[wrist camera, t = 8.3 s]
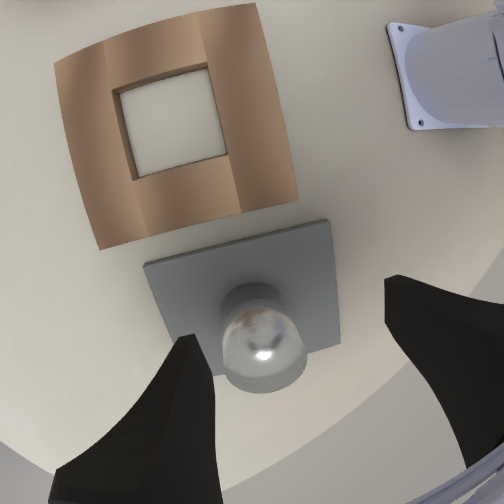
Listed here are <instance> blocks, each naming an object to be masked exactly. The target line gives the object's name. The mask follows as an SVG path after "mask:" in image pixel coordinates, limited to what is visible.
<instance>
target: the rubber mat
mask: <svg viewBox="0 0 504 504" xmlns="http://www.w3.org/2000/svg"><path fill="white" fill-rule="evenodd" d="M143 269H144V272H145V274H146V277H147V280H148V282H149V285H150V288H151V290H152V293H153V295H154V298H155V300H156V303H157V305H158V308H159V310H160V313H161V315H162V317H163V320H164V322H165V325H166V327H167V329H168V332H169V334H170V336H171V338H172V341H173V343H174V344H175V342H176V340H177V339H178V337H181V336H185V335H189V334H194V333H195V335H196V338H197V340H198V342H199V345H200V347H201V349H202V351H203V354H204V356H205V358H206V360H207V363H208V365H209V367H210V369H211V371H212V375H213V376H217V375H222V374H225V371H224V360H223V346H222V331H221V315H220V309H221V305H222V302H223V300H224V298H225V297H226V295H227V294H228V293H229V292H230V291H231V290H232V289H234V288H235V287H237V286H239V285H242V284H244V283H249V282H262V283H266V284H269V285H271V286H273V287H274V288H276V289H277V290H278V291H279V292H280V293H281V294H282V296H283V298H284V300H285V303H286V305H287V307H288V310H289V312H290V314H291V317H292V319H293V321H294V324H295V326H296V328H297V331H298V333H299V335H300V338H301V340H302V342H303V345H304V347H305V349H306V353H307V354H308V353H311V352H315V351H318V350H321V349H325V348H328V347H331V346H334V345H338V344H341V343H340V324H339V309H338V295H337V283H336V272H335V262H334V252H333V243H332V234H331V226H330V221H329V220H327V219H325V220H320V221H316V222H312V223H307V224H303V225H299V226H294V227H290V228H286V229H282V230H277V231H273V232H269V233H265V234H261V235H256V236H252V237H248V238H244V239H240V240H236V241H232V242H228V243H223V244H219V245H215V246H211V247H207V248H203V249H199V250H195V251H191V252H187V253H183V254H179V255H175V256H171V257H167V258H163V259H159V260H155V261H151V262H147V263H144V265H143Z"/></svg>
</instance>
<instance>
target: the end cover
mask: <svg viewBox="0 0 504 504" xmlns="http://www.w3.org/2000/svg"><path fill="white" fill-rule="evenodd" d="M220 315H221V331H222V346H223V360H224V371H225V375H226V377H227V379H228V380H229V381H230V383H231V384H233V385H234V386H235V387H237V388H238V389H241V390H243V391H246V392H250V393H270V392H274V391H278V390H280V389H283V388H285V387H287V386H289V385H290V384H292V383H293V382H294V381H295V380H297V379H298V378H299V377H300V375H301V374H302V373H303V371H304V369H305V367H306V364H307V353H306V349H305V347H304V345H303V342H302V340H301V338H300V335H299V333H298V331H297V328H296V326H295V324H294V321H293V319H292V317H291V314H290V312H289V310H288V307H287V305H286V303H285V300H284V298H283V296H282V294H281V293H280V292H279V291H278V290H277V289H276V288H274V287H273V286H271V285H269V284H266V283H262V282H249V283H244V284H242V285H239V286H237V287H235V288H234V289H232V290H231V291H230V292H229V293H228V294H227V295H226V297H225V298H224V300H223V302H222V305H221V309H220Z"/></svg>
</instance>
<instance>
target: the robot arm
mask: <svg viewBox="0 0 504 504" xmlns="http://www.w3.org/2000/svg"><path fill="white" fill-rule="evenodd" d="M494 4H495V6H496V7H497V9H498V10H494V11H490V12H486V13H482V14H478V15H475V16H471V17H467V18H464V19H460V20H457V21H454V22H451V23H447V24H444V25H441V26H438V27H435V28H429V27H423V26H417V25H411V24H404V23H396V22H391V23H389V24H388V25H387V30H388V34H389V37H390V41H391V44H392V48H393V52H394V56H395V60H396V64H397V69H398V73H399V78H400V82H401V87H402V92H403V98H404V103H405V109H406V115H407V122H408V126H409V128H410V129H412V130H430V129H449V128H488V127H490V126H493V127H502V128H504V0H494ZM398 27H399V28H400V29H401V32H400V31H399V29H398ZM419 120H420V122H421V125H419ZM384 286H385V324H386V325H387V327H388V329H389V331H390V332H391V334H392V336H393V337H394V339H395V341H396V342H397V344H398V345H399V346H400V347H401V349H402V350H403V351H404V353H405V354H406V355H407V356H408V358H409V359H410V360H411V361H412V363H413V364H414V365H415V366H416V368H417V369H418V370H419V372H420V373H421V374H422V375H423V377H424V378H425V379H426V381H427V382H428V384H429V385H430V387H431V388H432V390H433V392H434V394H435V395H436V397H437V399H438V401H439V402H440V404H441V406H442V408H443V410H444V412H445V414H446V416H447V418H448V420H449V422H450V424H451V427H452V429H453V432H454V434H455V436H456V439H457V441H458V444H459V447H460V450H461V452H462V455H463V458H464V461H465V465H466V468H467V469H466V470H465V471H463V472H462V473H460V474H459V475H457V476H455V477H454V478H452V479H450V480H449V481H447V482H445V483H444V484H442V485H440V486H439V487H437V488H435V489H433V490H431V491H429V492H428V493H426V494H424V495H422V496H420V497H418V498H416V499H414V500H412V501H410V502H408V503H406V504H450V503H452V502H453V501H455V500H457V499H458V498H460V497H461V496H463V495H465V494H466V493H468V492H469V491H470V490H472V489H473V488H475V487H476V486H478V485H479V484H481V483H482V482H483V481H485V480H486V479H488V478H489V477H490V476H492V475H493V474H494V473H495V472H497V473H496V475H494V476H493V477H492V478H491V479H490V480H488V481H487V482H486V483H485V484H484V485H482V486H481V487H480V488H478V489H477V491H476V492H475V494H473V495H472V496H471V497H470V498H469V499H468V500H467V501H466V502H464V503H463V504H504V304H498V303H492V302H487V301H482V300H477V299H473V298H469V297H465V296H462V295H459V294H455V293H452V292H449V291H446V290H443V289H440V288H437V287H434V286H431V285H429V284H426V283H423V282H420V281H417V280H415V279H412V278H409V277H405V276H402V275H395V276H392V277H389V278H386V279H384ZM48 503H49V504H223V499H222V494H221V488H220V482H219V476H218V469H217V462H216V451H215V391H214V383H213V375H212V371H211V369H210V367H209V365H208V363H207V360H206V358H205V356H204V354H203V351H202V349H201V347H200V345H199V342H198V340H197V338H196V335H195V333H194V334H189V335H185V336H181V337H178V339H177V340H176V342H175V344H174V345H173V347H172V349H171V350H170V352H169V354H168V356H167V357H166V359H165V361H164V362H163V364H162V366H161V367H160V369H159V370H158V372H157V374H156V375H155V377H154V378H153V380H152V381H151V382H150V384H149V385H148V387H147V388H146V390H145V391H144V393H143V394H142V395H141V397H140V398H139V399H138V401H137V402H136V403H135V404H134V405H133V407H132V408H131V409H130V410H129V411H128V412H127V414H126V415H125V416H124V417H123V418H122V419H121V420H120V421H119V422H118V423H117V424H116V425H115V426H114V427H113V428H112V429H111V430H110V431H109V432H108V433H107V434H106V435H105V436H103V437H102V438H101V439H100V440H99V441H98V442H96V443H95V444H94V445H93V446H91V447H90V448H89V449H87V450H86V451H85V452H83V453H82V454H81V455H79V456H78V457H76V458H74V459H73V460H71V461H70V462H68V463H67V464H65V465H63V466H62V467H60V468H58V469H56V473H55V476H54V480H53V484H52V487H51V491H50V496H49V499H48Z"/></svg>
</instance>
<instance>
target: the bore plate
mask: <svg viewBox="0 0 504 504" xmlns="http://www.w3.org/2000/svg"><path fill="white" fill-rule="evenodd" d="M54 68H55V76H56V83H57V90H58V96H59V102H60V108H61V113H62V119H63V124H64V129H65V133H66V138H67V142H68V147H69V151H70V155H71V159H72V163H73V167H74V171H75V175H76V178H77V182H78V185H79V189H80V192H81V196H82V199H83V202H84V206H85V209H86V212H87V215H88V218H89V221H90V224H91V227H92V230H93V233H94V236H95V239H96V242H97V244H98V247H99V250H103V249H106V248H110V247H113V246H117V245H121V244H124V243H128V242H131V241H135V240H139V239H142V238H146V237H150V236H153V235H157V234H161V233H164V232H168V231H172V230H176V229H180V228H184V227H187V226H191V225H195V224H199V223H203V222H207V221H211V220H215V219H219V218H223V217H228V216H232V215H236V214H240V213H244V212H249V211H253V210H257V209H261V208H266V207H270V206H275V205H279V204H283V203H288V202H292V201H297V200H298V194H297V188H296V182H295V177H294V171H293V166H292V161H291V155H290V150H289V145H288V140H287V135H286V130H285V125H284V120H283V115H282V111H281V106H280V101H279V97H278V92H277V88H276V84H275V79H274V75H273V71H272V66H271V62H270V58H269V54H268V50H267V46H266V42H265V38H264V34H263V30H262V26H261V22H260V19H259V15H258V11H257V8H256V4H255V3H250V4H242V5H234V6H228V7H221V8H216V9H210V10H205V11H200V12H195V13H191V14H186V15H182V16H178V17H174V18H170V19H166V20H163V21H159V22H156V23H152V24H149V25H146V26H142V27H139V28H136V29H133V30H130V31H127V32H124V33H122V34H119V35H116V36H114V37H111V38H108V39H106V40H103V41H101V42H98V43H96V44H94V45H91V46H89V47H87V48H84V49H82V50H80V51H78V52H76V53H73V54H71V55H69V56H67V57H65V58H63V59H61V60H59V61H57V62H55V63H54ZM204 68H208V72H209V76H210V81H211V85H212V90H213V94H214V98H215V103H216V107H217V112H218V116H219V121H220V125H221V129H222V134H223V138H224V143H225V147H226V151H227V154H224V155H220V156H216V157H212V158H208V159H204V160H200V161H196V162H192V163H188V164H184V165H181V166H177V167H173V168H170V169H166V170H163V171H159V172H156V173H152V174H149V175H146V176H142V177H138V173H137V169H136V165H135V162H134V158H133V154H132V150H131V146H130V142H129V137H128V133H127V129H126V124H125V120H124V115H123V111H122V106H121V101H120V96H119V93H122V92H124V91H127V90H130V89H133V88H136V87H139V86H142V85H145V84H148V83H152V82H155V81H158V80H162V79H165V78H169V77H172V76H176V75H180V74H184V73H188V72H192V71H196V70H200V69H204Z"/></svg>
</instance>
